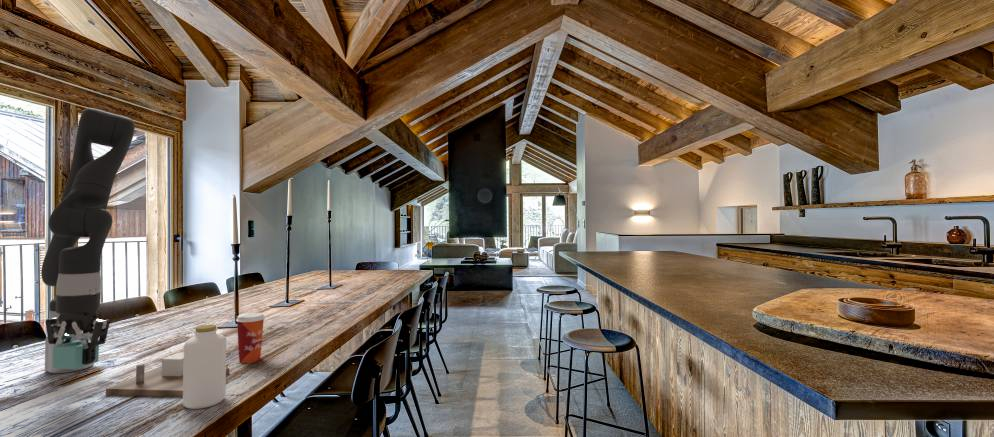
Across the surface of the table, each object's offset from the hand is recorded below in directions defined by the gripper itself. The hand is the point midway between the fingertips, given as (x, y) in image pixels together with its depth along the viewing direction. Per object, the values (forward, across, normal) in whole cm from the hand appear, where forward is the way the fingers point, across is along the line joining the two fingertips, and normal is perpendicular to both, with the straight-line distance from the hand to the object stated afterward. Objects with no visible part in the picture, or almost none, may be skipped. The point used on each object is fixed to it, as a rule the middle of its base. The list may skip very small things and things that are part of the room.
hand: (76, 362), depth 99 cm
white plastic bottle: (+8, +31, +1) cm, 32 cm away
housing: (+7, +13, +15) cm, 21 cm away
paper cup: (+9, +22, +31) cm, 39 cm away
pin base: (+9, +14, +12) cm, 20 cm away
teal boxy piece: (+1, 0, 0) cm, 1 cm away
